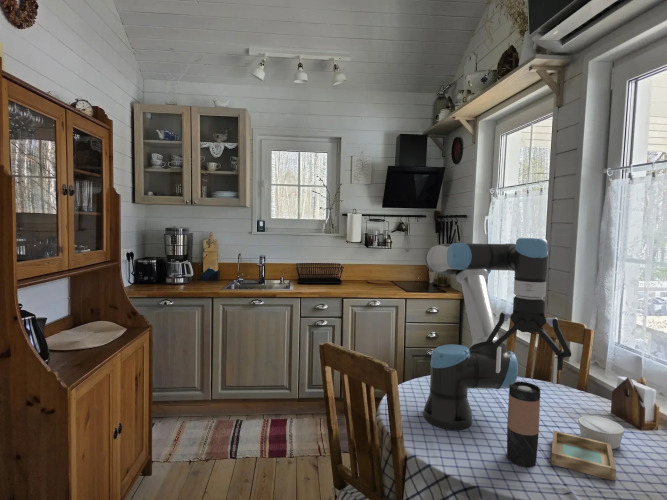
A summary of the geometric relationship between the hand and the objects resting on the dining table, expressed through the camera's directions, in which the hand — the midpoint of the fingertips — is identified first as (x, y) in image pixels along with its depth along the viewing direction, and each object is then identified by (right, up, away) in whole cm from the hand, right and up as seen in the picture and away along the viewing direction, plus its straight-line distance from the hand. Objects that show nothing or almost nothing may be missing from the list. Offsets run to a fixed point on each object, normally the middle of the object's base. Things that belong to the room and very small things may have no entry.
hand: (525, 376), depth 107 cm
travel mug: (0, -23, +1) cm, 23 cm away
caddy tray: (+16, -23, +2) cm, 28 cm away
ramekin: (+27, -23, +12) cm, 38 cm away
